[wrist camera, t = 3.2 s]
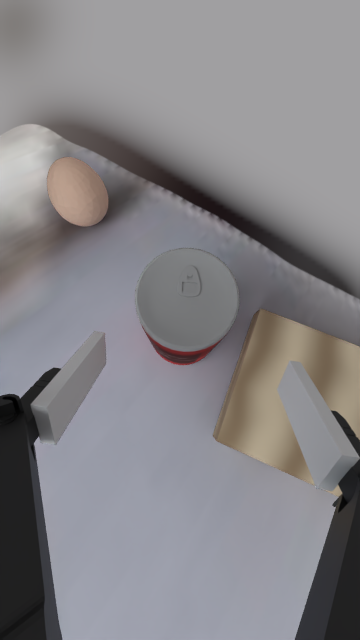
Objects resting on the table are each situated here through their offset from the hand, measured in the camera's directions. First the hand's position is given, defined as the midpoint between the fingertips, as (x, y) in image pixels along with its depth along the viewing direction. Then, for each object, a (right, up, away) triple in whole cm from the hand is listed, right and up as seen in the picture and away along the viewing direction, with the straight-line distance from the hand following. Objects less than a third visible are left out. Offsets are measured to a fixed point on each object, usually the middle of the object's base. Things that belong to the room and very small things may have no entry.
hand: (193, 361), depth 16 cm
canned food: (-1, +2, +11) cm, 11 cm away
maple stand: (+11, -5, +8) cm, 15 cm away
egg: (-13, +17, +15) cm, 26 cm away
